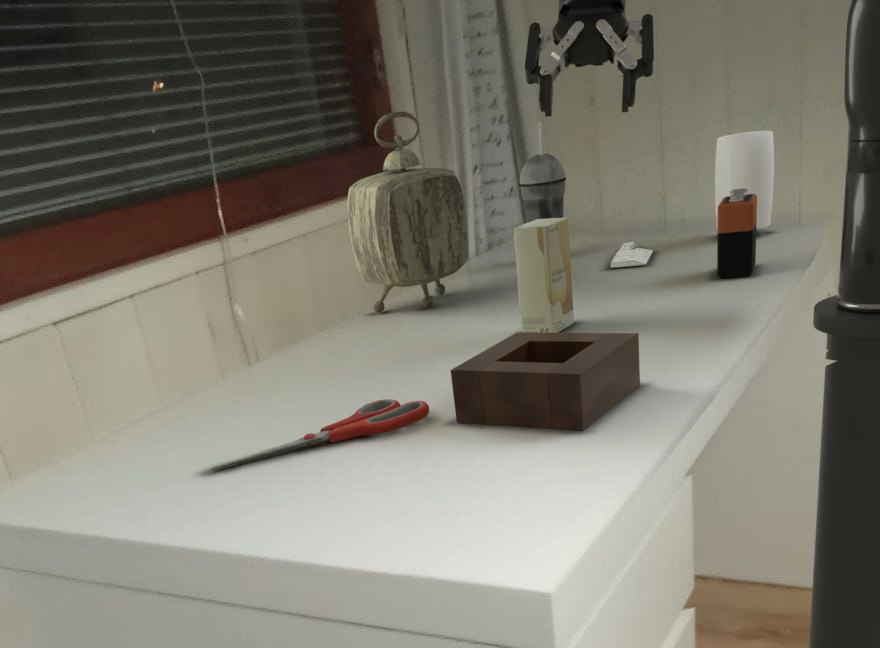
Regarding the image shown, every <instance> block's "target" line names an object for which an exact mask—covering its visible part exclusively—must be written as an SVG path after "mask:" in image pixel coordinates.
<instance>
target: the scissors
mask: <svg viewBox="0 0 880 648" xmlns="http://www.w3.org/2000/svg"><path fill="white" fill-rule="evenodd" d="M429 413H430V406H429V404H428V403H427V402H426V401H424V400H413V401H409V402H406V403H404V404H402V405H401V403H400V402H399V401H398V400H396V399H391V398H390V399H388V398H387V399H379V400H374V401H372V402H369V403H367V404H365V405H363V406H361V407H359V408H358V409H357V410H356V411H355V412H354V413H353V414H351V415H350V416H348V417H346V418H343V419H341V420H338V421H336V422H334V423H330V424H329V425H328V424H327V425H326V426H323V427H322V428H320V431H319V432H316V433H306V434H305V435H304V436H302V437H300V438H298V439H296V440H294V441H291V442H287V443H284V444H281V445H278V446H275V447H272V448H269V449H266V450H263V451H259V452H256V453H252V454H250V455H247V456H244V457H241V458H238V459H235V460H232V461H229V462H225V463H223V464H219V465H217V466H214V467H210V470H211V471H215V470H219V469H222V468H226V467H229V466H234V465H237V464H241V463H245V462H248V461H252V460H256V459H260V458H264V457H267V456H271V455H274V454H279V453H282V452H286V451H289V450H295V449H298V448H305V447H314V446H315V445H317V444H319V443H323V442H327V441H329V443H338V442H341V441H346V440H349V439H352V438H356V437H357V438H358V437H364V436H376V435H382V434H386V433H389V432H393V431H396V430H400V429H402V428H405V427H407V426H410V425H412V424H414V423H417V422H419V421H421V420H423V419H425V418H426V417H428V415H429Z"/></svg>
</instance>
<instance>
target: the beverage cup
mask: <svg viewBox="0 0 880 648" xmlns="http://www.w3.org/2000/svg"><path fill="white" fill-rule="evenodd" d="M538 133H539V134H538V135H539V153H538V154H535V155H532V156H531V157H530V158H529V159H527V160H526V162H525V163H524V165H523V167H522V169H521V170H520V175H519V185H518V187H519V188H520V194H521V197H522V200H523V204H524V210H525V218H526V223H529V222H532V221H534V220H537V219H549V218H564V204H565V203H564V202H565V201H564V200H565V199H564V195H565V191H566V181H567V177H566V173H565V169H564V167H563V164H562V163H561V161H560V160H559V159H558V158H557V157H556V156H554V155H552V154H550V153H544V134H543V133H544V132H543V121H542V120H540V121H538Z"/></svg>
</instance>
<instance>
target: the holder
mask: <svg viewBox="0 0 880 648" xmlns="http://www.w3.org/2000/svg"><path fill="white" fill-rule="evenodd" d="M639 336H640V335H639V333H638V332H558V333H541V332H521V331H519V332H518V331H517V332H514V333H513V334H511V335H509V336H508V337H506V338H504V339H502V340H501V341H499V342H497V343H495V344H493V345H492V346H490V347H487V348H486V349H484V350H483V351H481V352H480V353H478V354H476V355H475V356H472V357H470V358H469V359H467V360H466V361H464V362H462V363H460V364H458V365H457V366H455V367H453V368H452V369H450V378H451V385H452V393H453V402H454V410H455V419H456V423H459V424H472V425H474V424H476V425H491V426H503V427H504V426H505V427H520V428H535V429H552V430H564V431H565V430H566V431H579V432H583V431H585V430H586V429H587V428H589V427H590V426H591V425H592V424H594V423H595V422H596V421H597V420H599V419H600V418H601V417H602V416H603V415H605V414H606V413H607V412H609V411H610V410H611V409H613V408H614V407H615V406H616V405H618V404H619V403H620V402H622V401H623V400H624V399H626V398H627V397H628V396H629V395H630V394H631V393H632V392H634V391H635V390H637V389H638V388H639V387H640V386H641V374H640V373H641V372H640V340H639V339H640V338H639Z"/></svg>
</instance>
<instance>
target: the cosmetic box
mask: <svg viewBox="0 0 880 648" xmlns="http://www.w3.org/2000/svg"><path fill="white" fill-rule="evenodd" d="M569 221H570V220H569V217H563V218H549V219H537V220H534V221H532V222H529V223H527V222H525V223H523V224H521V225H519V226H516V227H514V228H513V237H514V250H515V251H514V253H515V265H516V266H515V267H516V277H517V291H518V302H519V303H518V305H519V317H520V332H541V333H561V332H562V331H563V330H565V329H566V328H568V327H570V326H571V325H573V324H574V323H575V314H574V298H573V279H572V278H573V277H572V264H571V244H570V243H571V240H570V225H569V223H570V222H569Z"/></svg>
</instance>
